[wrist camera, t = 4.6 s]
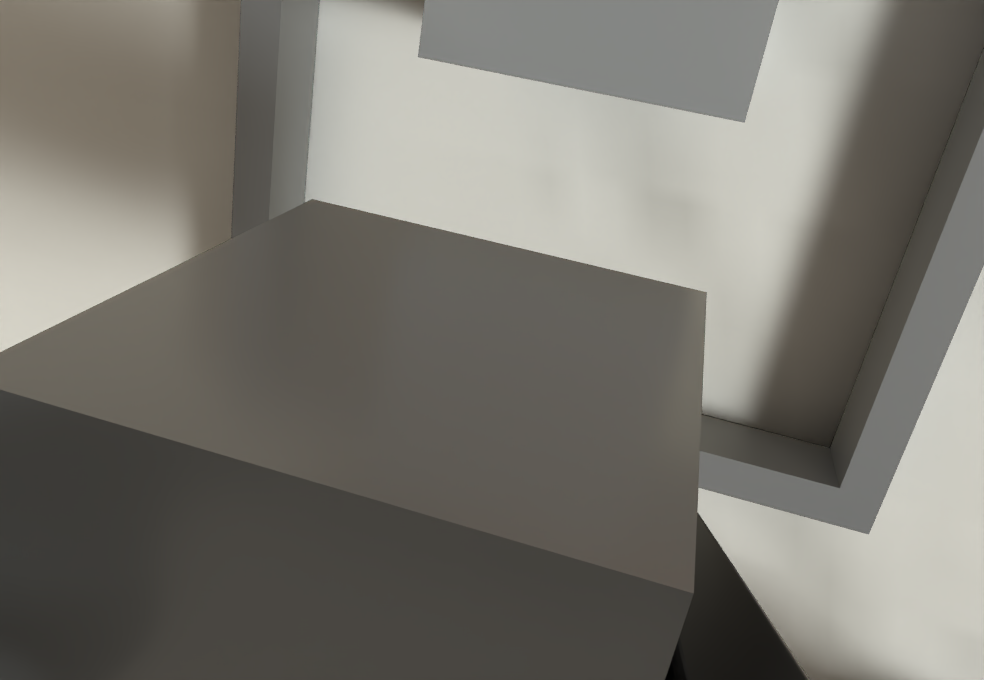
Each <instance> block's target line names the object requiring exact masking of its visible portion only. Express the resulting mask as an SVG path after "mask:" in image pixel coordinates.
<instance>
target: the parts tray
mask: <svg viewBox="0 0 984 680" xmlns="http://www.w3.org/2000/svg"><path fill="white" fill-rule="evenodd" d="M319 1H320V0H241V12H240V36H239V61H238V86H237V111H236V136H235V161H234V185H233V210H232V235H231V239H232V238H234V237H236V236H238V235H240V234H242V233H244V232H246V231H248V230H250V229H252V228H255V227H257V226H259V225H261V224H263V223H265V222H267V221H269V220H271V219H273V218H275V217H277V216H279V215H281V214H283V213H285V212H287V211H289V210H291V209H293V208H295V207H297V206H299V205H301V204H303V203H304V199H305V185H306V172H307V159H308V146H309V133H310V119H311V106H312V93H313V80H314V67H315V54H316V40H317V27H318V14H319ZM983 265H984V48H983V51H982V54H981V56H980V59H979V62H978V64H977V67H976V69H975V72H974V75H973V77H972V80H971V82H970V85H969V88H968V90H967V93H966V95H965V98H964V101H963V103H962V106H961V108H960V111H959V114H958V116H957V119H956V121H955V124H954V127H953V129H952V132H951V134H950V137H949V140H948V142H947V145H946V147H945V150H944V153H943V155H942V158H941V160H940V163H939V166H938V168H937V171H936V173H935V176H934V179H933V181H932V184H931V186H930V189H929V192H928V194H927V197H926V199H925V202H924V205H923V207H922V210H921V212H920V215H919V218H918V220H917V223H916V225H915V228H914V231H913V233H912V236H911V238H910V241H909V244H908V246H907V249H906V251H905V254H904V257H903V259H902V262H901V265H900V267H899V270H898V272H897V275H896V278H895V280H894V283H893V285H892V288H891V291H890V293H889V296H888V298H887V301H886V304H885V306H884V309H883V311H882V314H881V317H880V319H879V322H878V324H877V327H876V330H875V332H874V335H873V337H872V340H871V343H870V345H869V348H868V350H867V353H866V356H865V358H864V361H863V363H862V366H861V369H860V371H859V374H858V376H857V379H856V382H855V384H854V387H853V389H852V392H851V395H850V397H849V400H848V402H847V405H846V408H845V410H844V413H843V415H842V418H841V421H840V423H839V426H838V428H837V431H836V434H835V436H834V439H833V441H832V444H831V447H830V448H828V447H824V446H820V445H816V444H812V443H808V442H805V441H801V440H797V439H793V438H789V437H785V436H782V435H778V434H774V433H770V432H766V431H762V430H759V429H755V428H751V427H747V426H743V425H739V424H736V423H732V422H728V421H724V420H720V419H716V418H713V417H709V416H705V415H701V436H700V459H699V483H698V488H702V489H706V490H709V491H713V492H717V493H720V494H724V495H728V496H731V497H735V498H738V499H742V500H746V501H749V502H753V503H757V504H760V505H764V506H768V507H771V508H775V509H778V510H782V511H786V512H789V513H793V514H797V515H800V516H804V517H808V518H811V519H815V520H818V521H822V522H826V523H829V524H833V525H837V526H840V527H844V528H848V529H851V530H855V531H858V532H862V533H866V534H869V532H870V530H871V528H872V525H873V523H874V521H875V518H876V516H877V514H878V511H879V509H880V507H881V504H882V502H883V500H884V497H885V495H886V493H887V490H888V488H889V486H890V483H891V481H892V479H893V476H894V474H895V472H896V469H897V467H898V465H899V462H900V460H901V457H902V455H903V453H904V450H905V448H906V446H907V443H908V441H909V439H910V436H911V434H912V432H913V429H914V427H915V425H916V422H917V420H918V418H919V415H920V413H921V411H922V408H923V406H924V404H925V401H926V399H927V397H928V394H929V392H930V390H931V387H932V385H933V383H934V380H935V378H936V376H937V373H938V371H939V368H940V366H941V364H942V361H943V359H944V357H945V354H946V352H947V350H948V347H949V345H950V343H951V340H952V338H953V336H954V333H955V331H956V329H957V326H958V324H959V322H960V319H961V317H962V315H963V312H964V310H965V308H966V305H967V303H968V301H969V298H970V296H971V294H972V291H973V289H974V287H975V284H976V282H977V280H978V277H979V275H980V272H981V270H982V268H983Z"/></svg>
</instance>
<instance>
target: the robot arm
mask: <svg viewBox="0 0 984 680" xmlns="http://www.w3.org/2000/svg"><path fill="white" fill-rule="evenodd" d="M665 680H810V679H809V678H808V676H807V675H806V673H805V672H804V671H803V669H802V668H801V666H800V665H799V663H798V662H797V660H796V659H795V657H794V656H793V654H792V653H791V651H790V650H789V648H788V647H787V645H786V644H785V642H784V641H783V639H782V638H781V636H780V635H779V633H778V632H777V630H776V629H775V627H774V626H773V624H772V623H771V621H770V620H769V618H768V617H767V615H766V614H765V612H764V611H763V609H762V608H761V606H760V605H759V603H758V602H757V600H756V599H755V597H754V596H753V594H752V593H751V591H750V590H749V588H748V587H747V585H746V584H745V582H744V581H743V579H742V578H741V576H740V575H739V573H738V572H737V570H736V569H735V567H734V566H733V564H732V563H731V561H730V560H729V558H728V557H727V555H726V554H725V552H724V551H723V550H722V548H721V547H720V545H719V544H718V542H717V541H716V539H715V538H714V536H713V535H712V533H711V532H710V530H709V529H708V527H707V526H706V524H705V523H704V521H703V520H702V518H701V517H700V515H699V514H698V512H697V529H696V553H695V576H694V594H693V597H692V600H691V603H690V606H689V609H688V612H687V615H686V618H685V621H684V624H683V627H682V630H681V633H680V636H679V639H678V642H677V645H676V648H675V651H674V654H673V657H672V660H671V663H670V666H669V669H668V672H667V675H666V678H665Z"/></svg>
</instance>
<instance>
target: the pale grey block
mask: <svg viewBox="0 0 984 680" xmlns="http://www.w3.org/2000/svg"><path fill="white" fill-rule="evenodd" d="M706 295H707V292H703V291H698V290H694V289H690V288H686V287H681V286H677V285H673V284H669V283H664V282H660V281H656V280H652V279H648V278H643V277H639V276H635V275H631V274H626V273H622V272H618V271H614V270H610V269H605V268H601V267H597V266H593V265H588V264H584V263H580V262H576V261H571V260H567V259H563V258H559V257H555V256H550V255H546V254H542V253H538V252H533V251H529V250H525V249H521V248H516V247H512V246H508V245H504V244H500V243H495V242H491V241H487V240H483V239H478V238H474V237H470V236H466V235H462V234H457V233H453V232H449V231H445V230H440V229H436V228H432V227H428V226H423V225H419V224H415V223H411V222H407V221H402V220H398V219H394V218H390V217H385V216H381V215H377V214H373V213H368V212H364V211H360V210H356V209H352V208H347V207H343V206H339V205H335V204H330V203H326V202H322V201H318V200H314V199H312V200H309V201H307V202H305V203H303V204H301V205H299V206H297V207H295V208H293V209H291V210H289V211H287V212H285V213H283V214H281V215H279V216H277V217H275V218H273V219H271V220H269V221H267V222H265V223H263V224H261V225H259V226H257V227H255V228H252V229H250V230H248V231H246V232H244V233H242V234H240V235H238V236H236V237H234V238H232V239H230V240H228V241H226V242H224V243H222V244H220V245H218V246H216V247H214V248H212V249H210V250H208V251H206V252H204V253H202V254H200V255H198V256H195V257H193V258H191V259H189V260H187V261H185V262H183V263H181V264H179V265H177V266H175V267H173V268H171V269H169V270H167V271H165V272H163V273H161V274H159V275H157V276H155V277H153V278H151V279H149V280H147V281H145V282H143V283H140V284H138V285H136V286H134V287H132V288H130V289H128V290H126V291H124V292H122V293H120V294H118V295H116V296H114V297H112V298H110V299H108V300H106V301H104V302H102V303H100V304H98V305H96V306H94V307H92V308H90V309H88V310H86V311H83V312H81V313H79V314H77V315H75V316H73V317H71V318H69V319H67V320H65V321H63V322H61V323H59V324H57V325H55V326H53V327H51V328H49V329H47V330H45V331H43V332H41V333H39V334H37V335H35V336H33V337H31V338H29V339H26V340H24V341H22V342H20V343H18V344H16V345H14V346H12V347H10V348H8V349H6V350H4V351H2V352H0V680H665V678H666V675H667V672H668V669H669V666H670V663H671V660H672V657H673V654H674V651H675V648H676V645H677V642H678V639H679V636H680V633H681V630H682V627H683V624H684V621H685V618H686V615H687V612H688V609H689V606H690V603H691V600H692V597H693V594H694V576H695V553H696V529H697V506H698V483H699V459H700V436H701V412H702V389H703V365H704V342H705V319H706Z"/></svg>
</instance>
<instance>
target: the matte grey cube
mask: <svg viewBox="0 0 984 680" xmlns="http://www.w3.org/2000/svg"><path fill="white" fill-rule="evenodd" d="M778 1H779V0H425V3H424V12H423V20H422V28H421V36H420V45H419V53H418V57H420V58H425V59H430V60H435V61H440V62H445V63H450V64H455V65H460V66H465V67H470V68H475V69H480V70H485V71H490V72H495V73H500V74H505V75H510V76H515V77H520V78H525V79H530V80H535V81H540V82H545V83H550V84H555V85H560V86H565V87H570V88H575V89H580V90H585V91H590V92H595V93H600V94H605V95H610V96H615V97H620V98H625V99H630V100H635V101H640V102H645V103H649V104H654V105H659V106H664V107H669V108H674V109H679V110H684V111H689V112H694V113H699V114H704V115H709V116H714V117H719V118H724V119H729V120H734V121H739V122H745V119H746V115H747V112H748V108H749V105H750V101H751V97H752V94H753V90H754V87H755V83H756V80H757V76H758V72H759V69H760V65H761V62H762V58H763V55H764V51H765V47H766V44H767V40H768V37H769V33H770V30H771V26H772V22H773V19H774V15H775V12H776V8H777V5H778Z"/></svg>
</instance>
